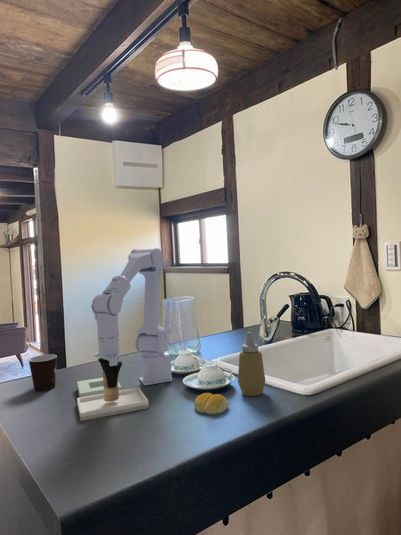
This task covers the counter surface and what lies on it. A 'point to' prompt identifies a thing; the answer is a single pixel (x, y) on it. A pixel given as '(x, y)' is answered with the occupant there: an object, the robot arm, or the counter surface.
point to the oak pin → (110, 391)
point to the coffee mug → (43, 372)
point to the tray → (111, 404)
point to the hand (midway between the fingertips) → (111, 384)
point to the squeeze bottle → (251, 369)
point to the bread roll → (211, 403)
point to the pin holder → (92, 387)
